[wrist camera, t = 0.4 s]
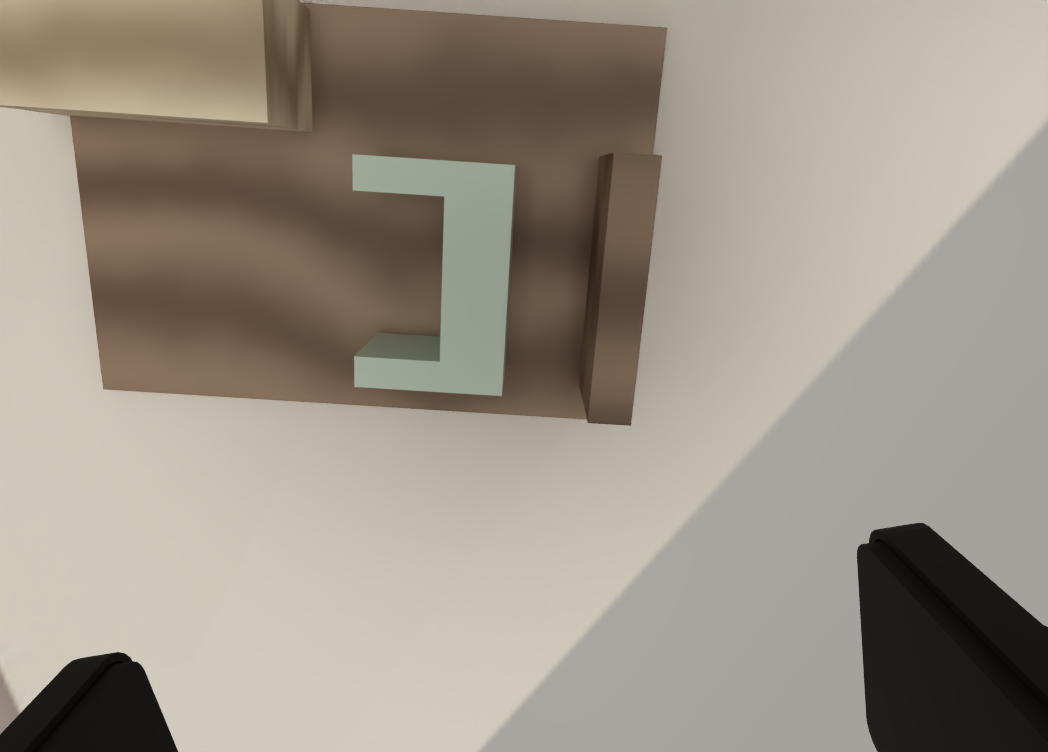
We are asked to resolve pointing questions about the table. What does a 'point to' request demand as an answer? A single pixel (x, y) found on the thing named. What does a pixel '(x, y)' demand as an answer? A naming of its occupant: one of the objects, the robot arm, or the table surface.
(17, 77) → the beige wooden brick
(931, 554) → the robot arm
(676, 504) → the table surface
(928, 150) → the table surface
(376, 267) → the board
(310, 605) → the table surface
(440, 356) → the block
